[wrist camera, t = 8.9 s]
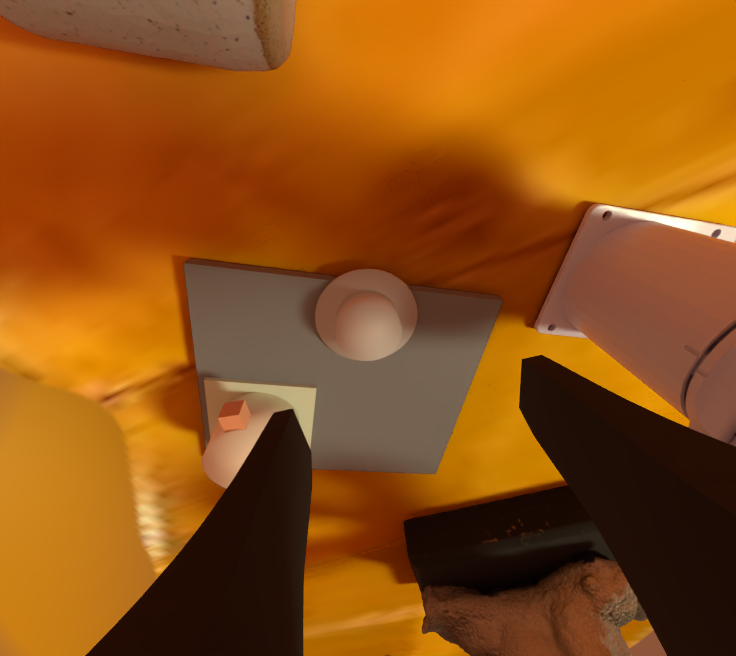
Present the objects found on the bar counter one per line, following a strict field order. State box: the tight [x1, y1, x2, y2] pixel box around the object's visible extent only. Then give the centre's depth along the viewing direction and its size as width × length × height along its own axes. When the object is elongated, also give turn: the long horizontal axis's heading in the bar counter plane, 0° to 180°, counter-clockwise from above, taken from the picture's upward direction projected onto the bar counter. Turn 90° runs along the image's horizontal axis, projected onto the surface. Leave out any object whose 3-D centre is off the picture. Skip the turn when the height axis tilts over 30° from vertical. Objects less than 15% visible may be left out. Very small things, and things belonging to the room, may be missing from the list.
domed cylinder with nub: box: [202, 392, 299, 489], centre depth 21 cm, size 6×5×4 cm
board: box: [183, 258, 503, 474], centre depth 22 cm, size 18×17×3 cm
